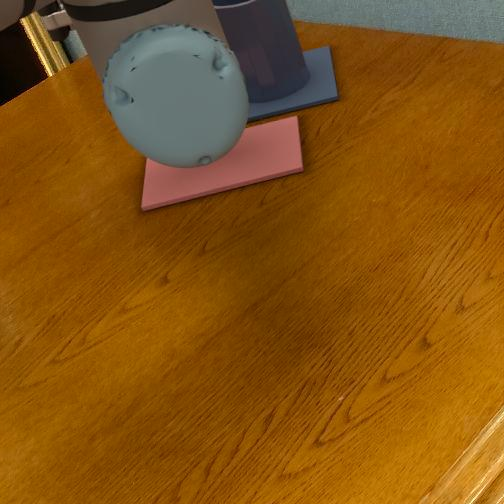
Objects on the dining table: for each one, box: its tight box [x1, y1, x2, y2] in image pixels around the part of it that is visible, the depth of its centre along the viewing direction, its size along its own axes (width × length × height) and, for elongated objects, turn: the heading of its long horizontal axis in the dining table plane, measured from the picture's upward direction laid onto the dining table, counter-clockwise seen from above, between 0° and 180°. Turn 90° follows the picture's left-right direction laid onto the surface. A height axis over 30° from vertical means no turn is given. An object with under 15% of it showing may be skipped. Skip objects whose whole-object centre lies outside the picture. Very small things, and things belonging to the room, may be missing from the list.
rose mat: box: [140, 115, 304, 212], centre depth 88 cm, size 14×10×1 cm
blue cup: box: [212, 0, 310, 103], centre depth 94 cm, size 7×7×9 cm
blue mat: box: [247, 45, 340, 123], centre depth 97 cm, size 12×12×1 cm
